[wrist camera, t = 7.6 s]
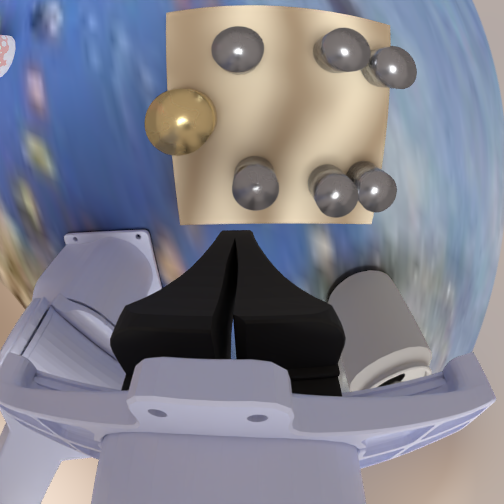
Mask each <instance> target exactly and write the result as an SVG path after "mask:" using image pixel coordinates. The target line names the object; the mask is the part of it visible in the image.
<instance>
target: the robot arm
mask: <svg viewBox="0 0 504 504" xmlns="http://www.w3.org/2000/svg"><path fill="white" fill-rule="evenodd" d="M137 234H139V235H140V236H141V237H138V236H137ZM75 237H76V238H77V239H76V238H75ZM64 240H65V243H66V246H65V247H64V248H63V249H62V250H61V252H60V253H59V254H58V255H57V256H56V257H55V259H54V260H53V261H52V262H51V264H50V265H49V266H48V267H47V269H46V270H45V271H44V272H43V274H42V275H41V276H40V278H39V279H38V281H37V283H36V285H35V288H34V292H33V298H32V301H31V303H30V304H29V306H28V307H27V308H26V310H25V311H24V313H23V314H22V316H21V317H20V319H19V320H18V322H17V323H16V325H15V326H14V328H13V330H12V331H11V333H10V334H9V336H8V338H7V340H6V341H5V343H4V345H3V347H2V349H1V350H0V411H1V413H2V415H3V417H4V419H5V421H6V424H5V426H4V429H3V431H2V433H1V436H0V504H41V502H42V499H43V497H44V495H45V493H46V491H47V489H48V487H49V485H50V483H51V481H52V479H53V477H54V475H55V473H56V471H57V469H58V467H59V465H60V463H61V461H64V460H71V459H82V458H89V457H93V458H96V459H98V460H99V462H98V467H97V472H96V477H95V483H94V489H93V495H92V501H91V504H366V500H365V493H364V487H363V481H362V475H361V470H360V469H361V468H365V467H368V466H371V465H375V464H378V463H381V462H384V461H387V460H390V459H393V458H396V457H399V456H401V455H404V454H406V453H409V452H411V451H414V450H416V449H419V448H421V447H423V446H426V445H428V444H431V443H433V442H435V441H437V440H440V439H442V438H444V437H446V436H449V435H451V434H453V433H455V432H457V431H459V430H461V429H463V428H464V427H465V426H467V425H468V424H469V423H470V422H472V421H473V420H474V419H475V418H477V417H478V416H479V415H480V414H481V413H482V412H484V411H485V410H486V409H487V408H488V407H489V406H490V405H491V404H492V403H494V402H495V400H496V397H495V395H494V392H493V390H492V388H491V386H490V384H489V382H488V380H487V377H486V375H485V373H484V371H483V369H482V367H481V365H480V364H479V362H478V360H477V358H476V356H475V354H474V352H471V353H468V354H465V355H462V356H458V357H456V358H454V359H452V360H451V361H449V362H448V363H447V365H446V366H445V367H444V369H443V371H442V372H439V373H435V374H432V375H428V376H424V377H420V378H417V379H413V380H409V381H404V382H400V383H396V384H391V385H386V386H381V387H376V388H371V389H365V390H359V391H353V392H346V393H341V388H340V384H339V380H338V376H339V374H340V371H339V367H338V361H339V359H340V356H341V353H342V351H343V348H344V346H345V340H346V337H345V333H344V329H343V326H342V324H341V321H340V319H339V317H338V315H337V313H336V312H335V310H334V308H333V306H332V305H330V304H328V303H326V302H324V301H322V300H320V299H317V298H315V297H313V296H312V295H310V294H308V293H306V292H305V291H303V290H301V289H300V288H298V287H297V286H296V285H294V284H293V283H292V282H290V281H289V280H288V279H286V278H285V277H284V276H283V275H282V274H281V273H280V272H279V271H278V270H277V269H276V268H275V267H274V266H273V264H272V263H271V262H270V261H269V260H268V258H267V257H266V256H265V254H264V253H263V251H262V250H261V248H260V247H259V245H258V243H257V242H256V240H255V238H254V235H253V232H252V231H251V230H232V231H222V232H221V233H220V234H219V235H218V237H217V238H216V240H215V241H214V242H213V244H212V245H211V246H210V247H209V249H208V250H207V251H206V252H205V253H204V255H203V256H202V257H201V258H200V259H199V260H198V261H197V262H196V263H195V264H194V265H193V266H192V267H191V268H190V269H189V270H188V271H186V272H185V273H184V274H183V275H181V276H180V277H179V278H177V279H176V280H174V281H173V282H171V283H170V284H168V285H167V286H165V287H164V288H162V285H161V281H160V277H159V273H158V269H157V265H156V261H155V256H154V252H153V247H152V243H151V238H150V234H149V232H148V231H147V230H123V231H101V232H82V233H67V234H66V235H65V236H64ZM233 320H234V333H235V346H236V358H237V359H231V332H232V322H233Z"/></svg>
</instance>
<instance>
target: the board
mask: <svg viewBox="0 0 504 504" xmlns="http://www.w3.org/2000/svg"><path fill="white" fill-rule="evenodd" d="M235 26H242V27H247V28H250V29H252V30H254V31H255V32H256V33H258V34H259V36H260V37H261V39H262V40H263V43H264V54H263V57H262V59H261V61H260V63H259V65H258V66H257V67H256V68H255V69H254V70H253V71H251V72H249V73H246V74H242V75H236V74H231V73H228V72H227V71H225V70H224V69H222V68H221V67H220V66H219V65H218V64H217V63H216V62H215V60H214V59H213V56H212V52H211V47H212V43H213V41H214V39H215V37H216V36H217V35H218V34H219V33H220V32H221V31H223V30H225V29H227V28H230V27H235ZM337 28H350V29H353V30H355V31H357V32H359V33H360V34H361V35H362V36H363V37H364V38H365V39H366V40H367V42H368V44H369V46H370V50H375V49H380V48H385V47H390V25H386V24H383V23H379V22H376V21H372V20H368V19H364V18H359V17H355V16H350V15H345V14H340V13H334V12H328V11H322V10H314V9H306V8H296V7H283V6H257V5H247V6H220V7H207V8H197V9H189V10H182V11H175V12H169V13H166V61H167V90H168V91H169V90H173V89H194V90H198V91H200V92H202V93H204V94H205V95H207V96H208V97H209V98H210V99H211V100H212V102H213V104H214V106H215V108H216V112H217V122H216V126H215V129H214V131H213V133H212V134H211V136H210V137H209V138H208V139H207V141H206V142H205V143H204V144H203V145H202V146H201V147H200V148H199V149H197V150H196V151H194V152H192V153H190V154H186V155H181V156H175V155H172V159H173V169H174V178H175V187H176V195H177V203H178V211H179V218H180V225H198V224H251V223H337V224H371V223H372V219H373V214H374V212H370V211H368V210H366V209H365V208H364V207H363V206H362V205H361V204H360V202H359V201H358V202H357V204H356V206H355V208H354V209H353V210H352V211H351V212H350V213H349V214H347V215H345V216H343V217H339V218H333V217H329V216H326V215H325V214H323V213H322V212H321V211H320V209H319V208H318V206H317V204H316V202H315V200H314V198H313V197H312V195H311V193H310V191H309V189H308V179H309V176H310V174H311V172H312V171H313V170H314V169H315V168H317V167H318V166H321V165H324V164H331V165H334V166H336V167H338V168H339V169H340V170H341V171H342V172H343V173H344V174H345V175H346V174H347V172H348V170H349V168H350V167H351V166H352V165H353V164H355V163H356V162H359V161H369V162H371V163H373V164H374V165H376V166H377V167H379V168H380V169H381V168H382V161H383V153H384V146H385V137H386V128H387V117H388V105H389V89H390V88H385V87H377V86H374V85H372V84H370V83H369V82H368V81H367V80H366V79H365V78H364V76H363V74H362V72H361V70H358V71H352V72H344V73H331V72H328V71H326V70H324V69H323V68H321V67H320V66H319V65H318V64H317V62H316V61H315V58H314V55H313V48H314V45H315V43H316V42H317V40H319V39H320V38H321V37H323V36H324V35H326V34H328V33H329V32H331V31H333V30H334V29H337ZM249 156H260V157H263V158H265V159H267V160H268V161H269V162H270V163H271V164H272V166H273V168H274V171H275V174H276V177H277V180H278V183H279V194H278V197H277V199H276V200H275V202H274V203H273V204H272V205H271V206H269V207H268V208H266V209H263V210H258V211H253V210H248V209H245V208H243V207H242V206H240V205H239V204H238V203H237V202H236V200H235V199H234V196H233V193H232V185H233V178H234V171H235V168H236V166H237V165H238V163H239V162H240V161H241V160H243V159H244V158H246V157H249Z"/></svg>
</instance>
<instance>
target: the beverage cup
mask: <svg viewBox="0 0 504 504" xmlns="http://www.w3.org/2000/svg"><path fill="white" fill-rule="evenodd" d="M14 54H15V40H14V39H13V37H12V36H7V35H0V77H2V76H3V75H4V74H5V73H6V72H7V70H8V69H9V67H10V65H11V63H12V61H13V58H14Z"/></svg>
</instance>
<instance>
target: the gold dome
mask: <svg viewBox="0 0 504 504" xmlns="http://www.w3.org/2000/svg"><path fill="white" fill-rule="evenodd" d="M216 122H217V112H216V108H215V106H214V104H213V102H212V100H211V99H210V98H209V97H208V96H207V95H205V94H204V93H202V92H200V91H198V90H194V89H173V90H169V91H166V92H164V93H162V94H161V95H159V96H158V97H157V98H156V99H155V100H154V101H153V102H152V103H151V105H150V106H149V108H148V110H147V113H146V116H145V131H146V134H147V137H148V139H149V140H150V142H151V143H152V144H153V146H155V147H156V148H157V149H158V150H160V151H161V152H163V153H166V154H169V155H175V156H181V155H186V154H190V153H192V152H194V151H196V150H197V149H199V148H200V147H201V146H202V145H203V144H204V143H205V142H206V141H207V139H208V138H209V137H210V136H211V134H212V133H213V131H214V129H215V126H216Z"/></svg>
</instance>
